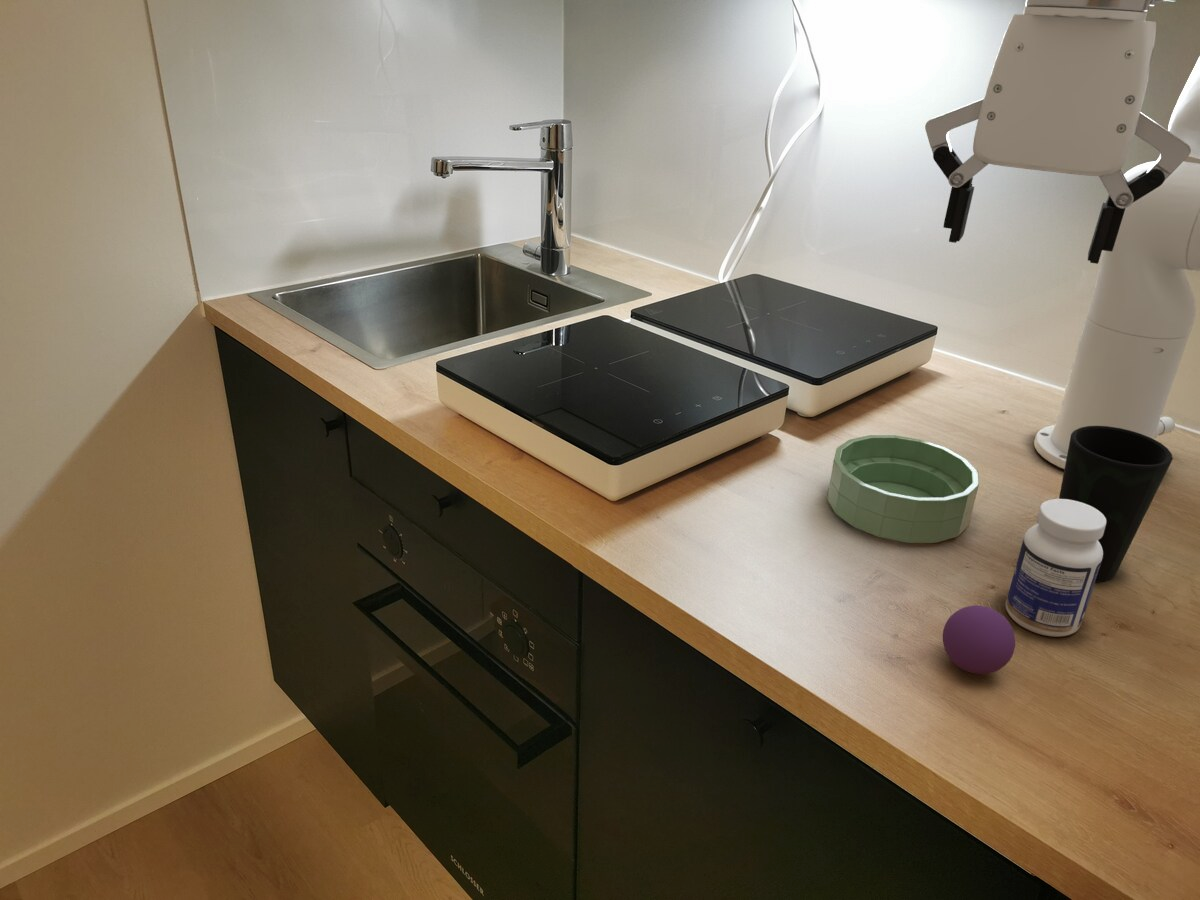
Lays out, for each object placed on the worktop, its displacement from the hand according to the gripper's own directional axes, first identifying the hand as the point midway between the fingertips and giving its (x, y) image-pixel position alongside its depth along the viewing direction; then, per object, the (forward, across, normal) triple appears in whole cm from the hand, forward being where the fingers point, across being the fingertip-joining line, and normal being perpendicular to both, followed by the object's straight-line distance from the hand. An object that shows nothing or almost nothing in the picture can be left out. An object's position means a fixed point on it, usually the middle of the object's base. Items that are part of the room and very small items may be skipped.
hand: (1022, 249), depth 68 cm
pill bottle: (+28, -8, +4) cm, 30 cm away
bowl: (+28, +5, -8) cm, 30 cm away
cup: (+28, -11, -7) cm, 31 cm away
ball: (+26, -4, +13) cm, 29 cm away
